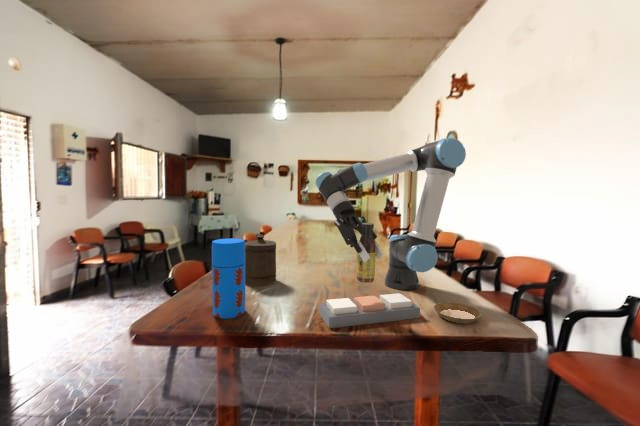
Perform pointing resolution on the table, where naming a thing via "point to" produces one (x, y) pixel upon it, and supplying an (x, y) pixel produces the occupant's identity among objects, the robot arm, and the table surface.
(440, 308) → the tan shallow bowl
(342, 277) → the table surface
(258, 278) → the wooden container
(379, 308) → the key mid
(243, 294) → the thermos
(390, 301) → the key
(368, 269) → the sauce bottle
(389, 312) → the key pad
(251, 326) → the table surface
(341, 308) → the key
